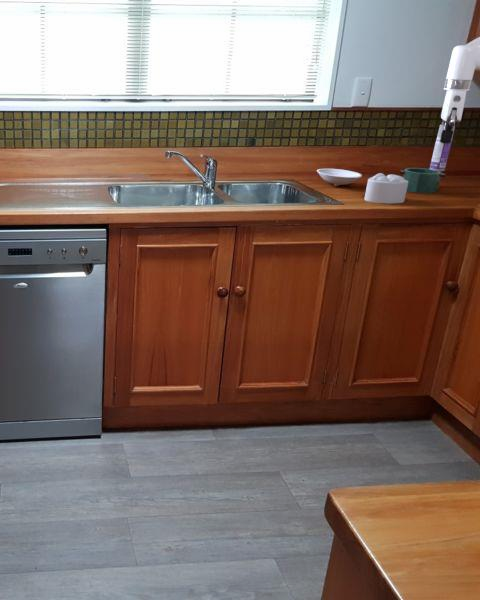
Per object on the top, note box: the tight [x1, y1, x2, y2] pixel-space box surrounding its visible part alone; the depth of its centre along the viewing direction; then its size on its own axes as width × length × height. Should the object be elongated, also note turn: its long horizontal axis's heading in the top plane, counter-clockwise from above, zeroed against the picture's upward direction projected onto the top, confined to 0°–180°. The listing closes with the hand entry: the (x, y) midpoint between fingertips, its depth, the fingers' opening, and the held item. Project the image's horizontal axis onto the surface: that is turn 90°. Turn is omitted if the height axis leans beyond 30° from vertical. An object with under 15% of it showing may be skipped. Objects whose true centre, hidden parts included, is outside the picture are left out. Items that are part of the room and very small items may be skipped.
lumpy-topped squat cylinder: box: [363, 172, 408, 204], centre depth 213 cm, size 10×13×9 cm
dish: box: [316, 168, 363, 187], centre depth 235 cm, size 18×14×5 cm
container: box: [429, 124, 456, 172], centre depth 209 cm, size 5×5×15 cm
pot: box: [399, 167, 446, 195], centre depth 229 cm, size 15×12×7 cm
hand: (443, 141), depth 208 cm, fingers closed on container, 4 cm apart
